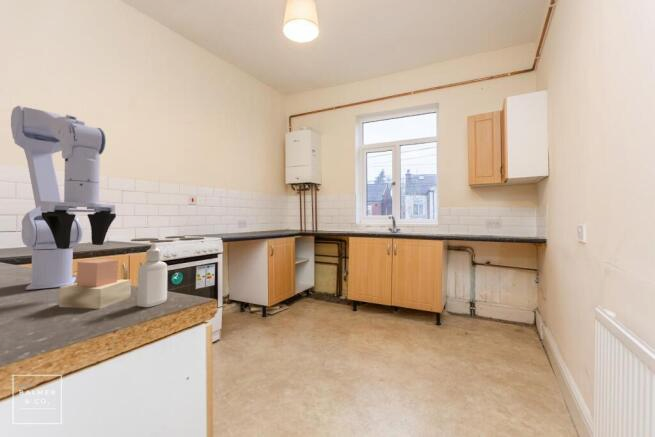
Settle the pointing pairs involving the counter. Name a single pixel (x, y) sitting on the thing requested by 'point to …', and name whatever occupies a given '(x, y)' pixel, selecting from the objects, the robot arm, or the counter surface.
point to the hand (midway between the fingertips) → (81, 246)
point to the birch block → (94, 295)
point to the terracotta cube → (97, 272)
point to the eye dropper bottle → (152, 279)
